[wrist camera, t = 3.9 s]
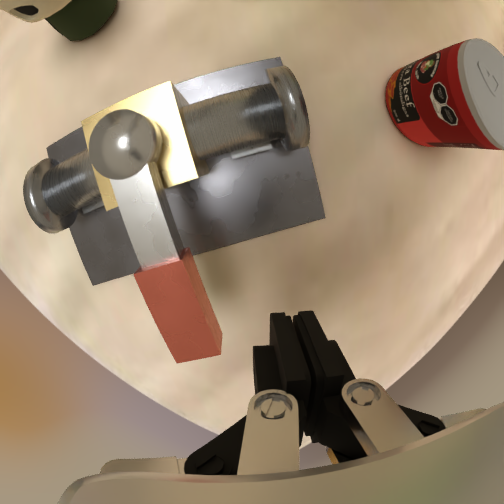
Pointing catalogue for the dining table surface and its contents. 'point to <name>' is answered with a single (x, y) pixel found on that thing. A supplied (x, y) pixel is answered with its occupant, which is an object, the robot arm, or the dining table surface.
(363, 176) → the dining table surface
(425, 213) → the dining table surface
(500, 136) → the canned food
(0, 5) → the character mug
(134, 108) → the valve
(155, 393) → the dining table surface
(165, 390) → the dining table surface
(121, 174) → the lever
